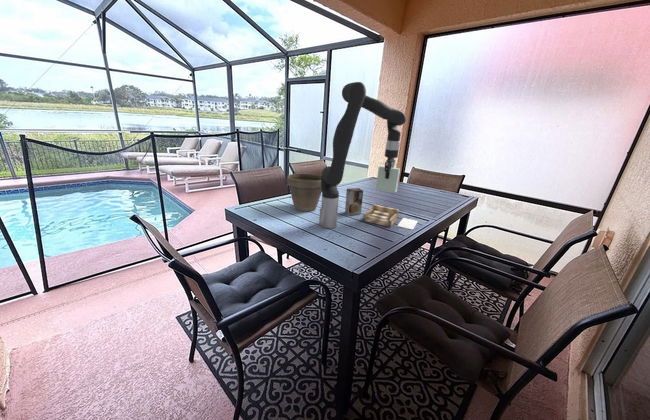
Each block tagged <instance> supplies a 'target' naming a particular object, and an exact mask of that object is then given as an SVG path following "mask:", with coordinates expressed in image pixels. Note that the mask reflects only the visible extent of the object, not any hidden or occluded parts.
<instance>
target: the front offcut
mask: <svg viewBox="0 0 650 420" xmlns="http://www.w3.org/2000/svg"><path fill="white" fill-rule="evenodd" d="M371 217H374V218H379V219H383V220H387V217H385V216H381V215H377V214H372V215H371Z"/></svg>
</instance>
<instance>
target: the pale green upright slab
mask: <svg viewBox="0 0 650 420" xmlns="http://www.w3.org/2000/svg"><path fill="white" fill-rule="evenodd" d="M387 170H388V168H387ZM400 173H401V168H397V167H394V168H391V169H390V174H389V179H386V178H385V174H386V172H385V165H384V166H383V165H379V166H378V171H377V177H376V183H375V184H376V185H375V190H377V191H382V192H389V193H397V192H398V186H399V179H400Z"/></svg>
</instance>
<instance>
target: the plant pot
mask: <svg viewBox="0 0 650 420" xmlns="http://www.w3.org/2000/svg"><path fill="white" fill-rule="evenodd" d="M321 175H322V174H321ZM321 175H320V174H316V173H304V172H303V173H291V174H288V175H287V176H286V181H287V182H286V183H287V185H288V187H289V191H290V195H291V199H292V203H293V204H292V205H293V207H294V209H295V210H297V211H299V212H313V211H315V210H316V209H317V207H318V205H319V201H320V198H321V197H322V191H321Z"/></svg>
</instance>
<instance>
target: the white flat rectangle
mask: <svg viewBox="0 0 650 420" xmlns="http://www.w3.org/2000/svg"><path fill="white" fill-rule="evenodd" d="M417 224H418V220H415V219H410V218H405V217H403V218H402V219H401V220H400V222H399V223H398V224H397V226H396V227H398V228H403V229H406V230H411V231H414V228H415V227H416V225H417Z"/></svg>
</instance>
